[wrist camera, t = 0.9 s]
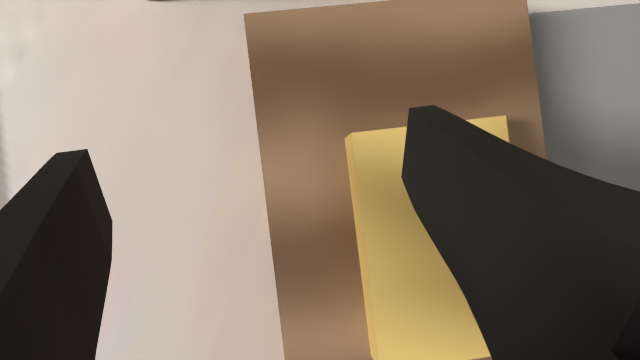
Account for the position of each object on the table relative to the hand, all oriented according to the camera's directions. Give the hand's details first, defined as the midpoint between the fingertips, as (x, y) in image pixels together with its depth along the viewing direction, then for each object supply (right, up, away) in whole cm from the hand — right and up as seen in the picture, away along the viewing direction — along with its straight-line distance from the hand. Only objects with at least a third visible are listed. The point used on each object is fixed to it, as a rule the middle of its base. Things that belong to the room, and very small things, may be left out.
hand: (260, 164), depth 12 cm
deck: (+5, -3, +13) cm, 15 cm away
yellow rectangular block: (+6, -3, +9) cm, 11 cm away
